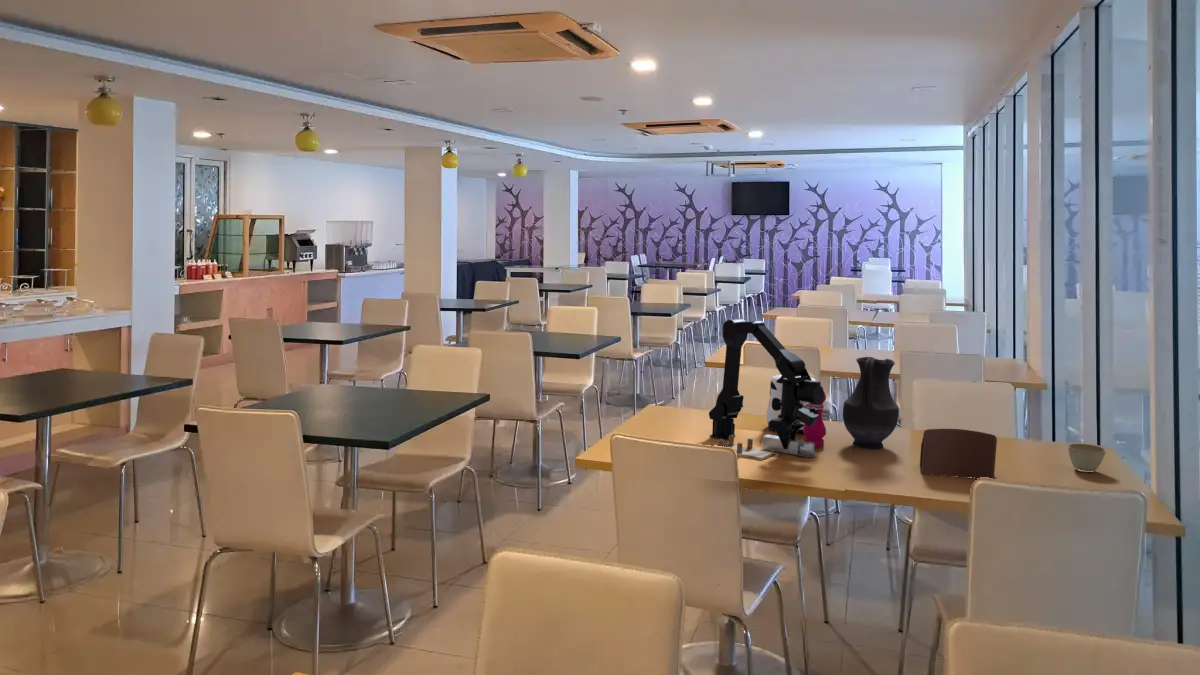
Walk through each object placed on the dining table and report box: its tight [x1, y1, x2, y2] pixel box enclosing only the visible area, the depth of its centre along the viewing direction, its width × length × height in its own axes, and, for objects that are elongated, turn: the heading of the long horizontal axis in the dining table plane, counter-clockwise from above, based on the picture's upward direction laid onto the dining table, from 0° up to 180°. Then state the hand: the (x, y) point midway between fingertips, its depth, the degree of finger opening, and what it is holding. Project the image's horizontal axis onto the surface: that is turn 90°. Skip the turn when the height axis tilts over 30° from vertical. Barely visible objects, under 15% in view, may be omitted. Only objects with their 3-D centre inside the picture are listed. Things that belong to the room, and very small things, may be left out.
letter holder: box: [919, 428, 998, 480], centre depth 272 cm, size 10×20×14 cm, turn 73°
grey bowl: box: [1067, 442, 1107, 472], centre depth 278 cm, size 10×10×7 cm
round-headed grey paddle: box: [761, 434, 815, 458], centre depth 291 cm, size 16×5×4 cm, turn 55°
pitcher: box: [842, 356, 900, 451], centre depth 299 cm, size 17×21×30 cm
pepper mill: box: [803, 391, 827, 448], centre depth 302 cm, size 7×7×20 cm
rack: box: [713, 435, 776, 461], centre depth 290 cm, size 19×9×4 cm, turn 55°
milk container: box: [765, 374, 817, 433], centre depth 323 cm, size 17×17×18 cm
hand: (788, 448), depth 291 cm, fingers closed on round-headed grey paddle, 3 cm apart
